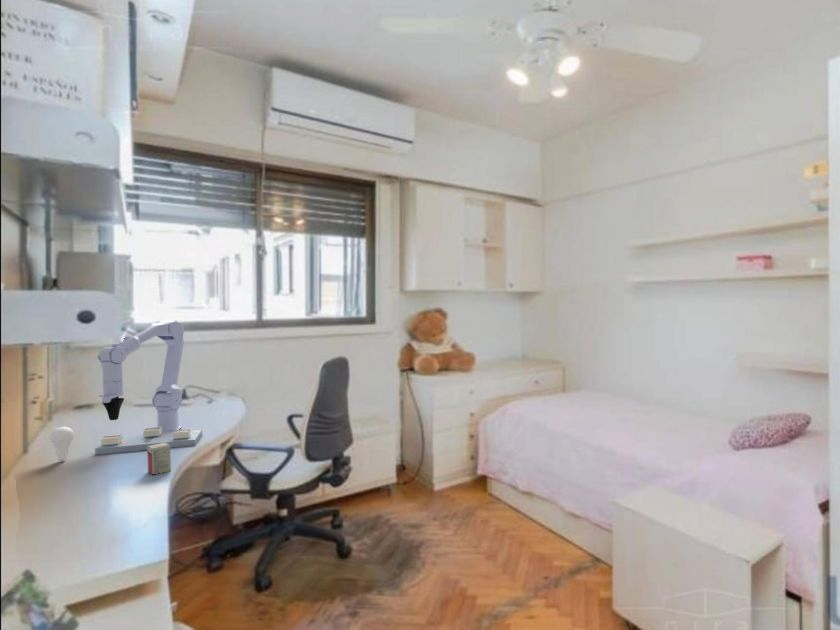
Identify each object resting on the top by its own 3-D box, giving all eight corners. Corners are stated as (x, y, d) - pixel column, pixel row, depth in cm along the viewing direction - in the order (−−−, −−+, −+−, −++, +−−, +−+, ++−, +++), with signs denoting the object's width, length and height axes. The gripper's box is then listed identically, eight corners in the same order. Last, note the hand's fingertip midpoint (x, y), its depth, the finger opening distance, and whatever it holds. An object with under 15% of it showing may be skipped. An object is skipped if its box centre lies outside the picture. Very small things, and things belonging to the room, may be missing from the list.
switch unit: (111, 442, 169) (110, 437, 169) (202, 434, 178) (202, 429, 178) (95, 454, 154) (95, 448, 154) (195, 445, 163) (195, 439, 163)
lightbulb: (61, 464, 144) (60, 429, 144) (45, 464, 146) (44, 429, 146) (79, 458, 150) (78, 425, 150) (63, 457, 152) (63, 424, 152)
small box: (166, 468, 139) (165, 441, 139) (171, 471, 136) (170, 444, 136) (147, 472, 136) (146, 445, 136) (152, 475, 133) (151, 448, 133)
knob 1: (105, 442, 161) (105, 435, 161) (121, 441, 162) (121, 433, 162) (101, 445, 157) (101, 438, 157) (118, 444, 159) (117, 436, 159)
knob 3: (175, 436, 167) (175, 429, 167) (190, 434, 169) (190, 428, 169) (173, 439, 163) (173, 432, 163) (188, 437, 165) (188, 430, 165)
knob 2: (146, 434, 171) (146, 427, 171) (161, 433, 172) (161, 426, 172) (143, 437, 167) (143, 430, 167) (159, 435, 168) (159, 428, 168)
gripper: (107, 379, 168) (108, 416, 168) (91, 384, 154) (92, 425, 154) (129, 377, 170) (130, 414, 170) (115, 383, 156) (116, 423, 156)
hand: (113, 419), depth 162 cm, fingers closed
